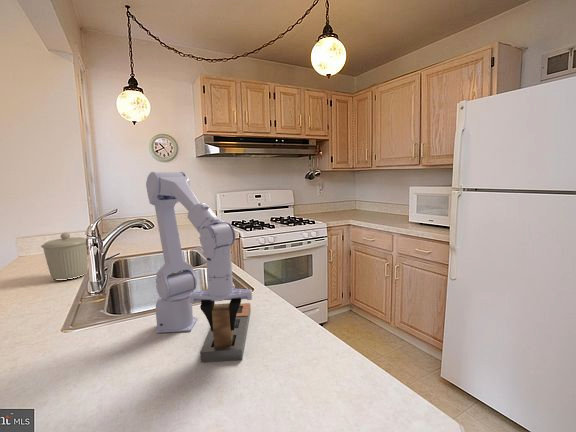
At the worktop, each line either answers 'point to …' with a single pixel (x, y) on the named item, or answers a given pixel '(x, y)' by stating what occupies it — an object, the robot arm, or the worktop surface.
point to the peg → (222, 325)
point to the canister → (66, 256)
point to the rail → (239, 339)
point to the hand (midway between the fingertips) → (223, 329)
